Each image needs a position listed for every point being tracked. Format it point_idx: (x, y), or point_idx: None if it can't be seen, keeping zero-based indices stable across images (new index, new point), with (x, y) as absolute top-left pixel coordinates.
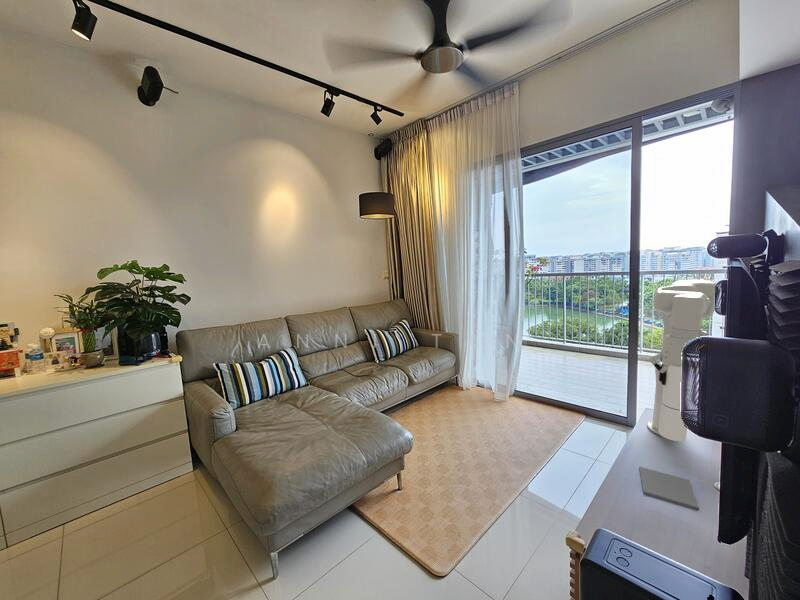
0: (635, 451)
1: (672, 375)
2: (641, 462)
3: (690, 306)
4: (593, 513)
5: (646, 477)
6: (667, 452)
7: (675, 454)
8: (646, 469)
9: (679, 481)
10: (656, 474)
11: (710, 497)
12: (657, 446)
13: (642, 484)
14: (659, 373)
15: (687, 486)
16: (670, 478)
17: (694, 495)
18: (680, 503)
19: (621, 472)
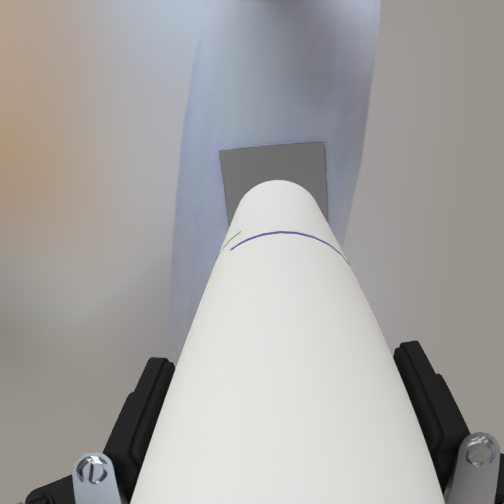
0: (208, 71)
1: None
2: (224, 117)
3: None
4: (170, 339)
5: (235, 190)
6: (283, 28)
7: (301, 28)
8: (234, 154)
9: (303, 162)
10: (256, 163)
11: (356, 180)
12: (260, 12)
13: (229, 224)
14: (111, 439)
15: (317, 174)
16: (285, 161)
17: (326, 202)
18: None
19: (186, 193)
